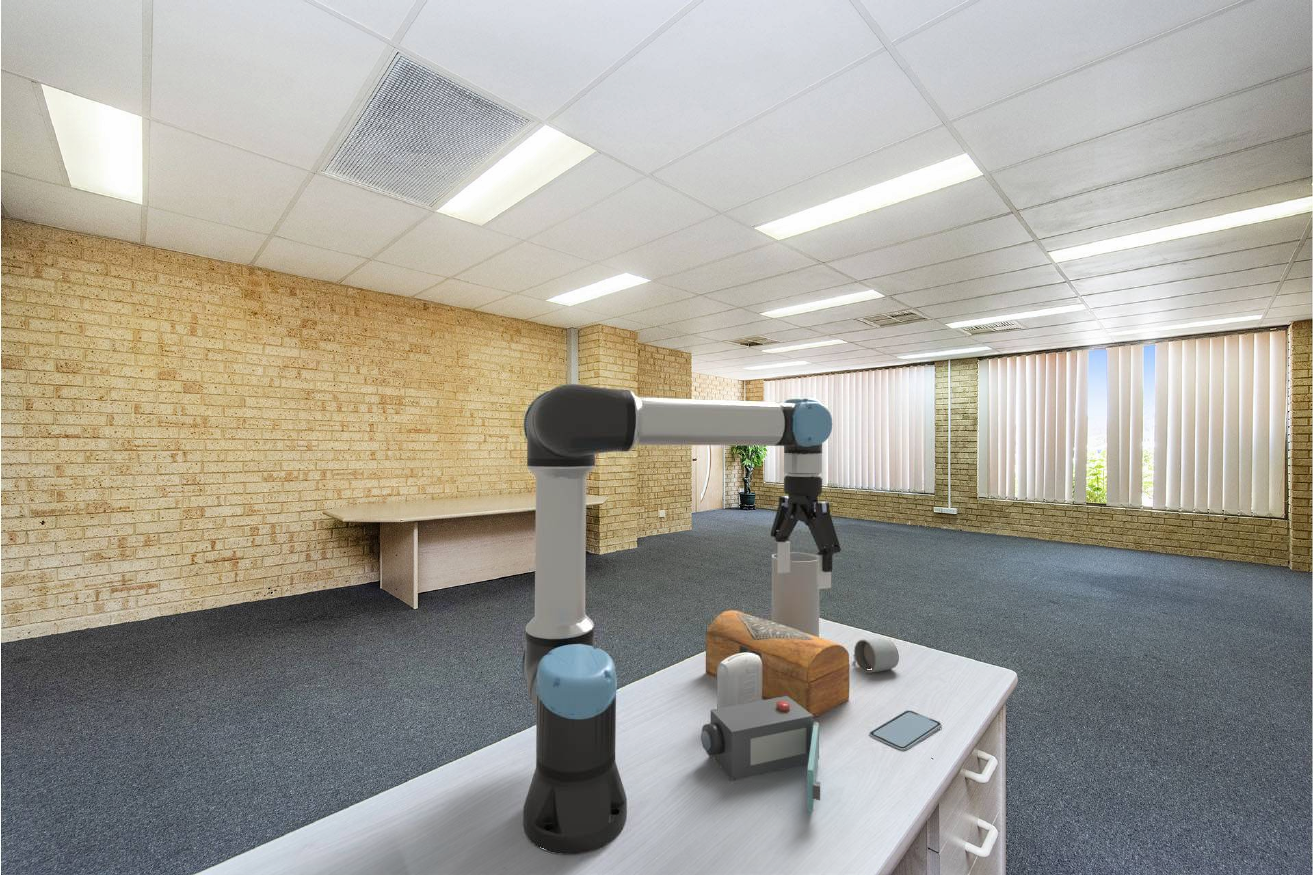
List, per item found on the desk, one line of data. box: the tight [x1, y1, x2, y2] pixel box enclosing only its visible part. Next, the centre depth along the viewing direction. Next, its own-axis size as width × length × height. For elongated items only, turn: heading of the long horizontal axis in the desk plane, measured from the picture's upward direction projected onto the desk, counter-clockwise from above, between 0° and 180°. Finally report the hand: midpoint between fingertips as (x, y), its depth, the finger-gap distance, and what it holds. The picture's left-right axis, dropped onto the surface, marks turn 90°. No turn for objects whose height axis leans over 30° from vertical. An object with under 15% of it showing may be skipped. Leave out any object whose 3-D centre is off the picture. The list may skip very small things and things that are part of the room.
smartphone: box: [868, 709, 942, 752], centre depth 106 cm, size 7×1×15 cm
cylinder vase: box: [771, 551, 820, 638], centre depth 149 cm, size 12×12×25 cm
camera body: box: [700, 696, 814, 782], centre depth 96 cm, size 19×8×9 cm, turn 110°
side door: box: [806, 721, 821, 812], centre depth 88 cm, size 15×2×6 cm, turn 160°
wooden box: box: [705, 609, 851, 719], centre depth 126 cm, size 30×16×14 cm, turn 38°
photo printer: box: [716, 653, 763, 709], centre depth 112 cm, size 10×4×12 cm, turn 123°
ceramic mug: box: [852, 638, 900, 674], centre depth 137 cm, size 11×8×8 cm
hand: (802, 579), depth 111 cm, fingers open, 13 cm apart
